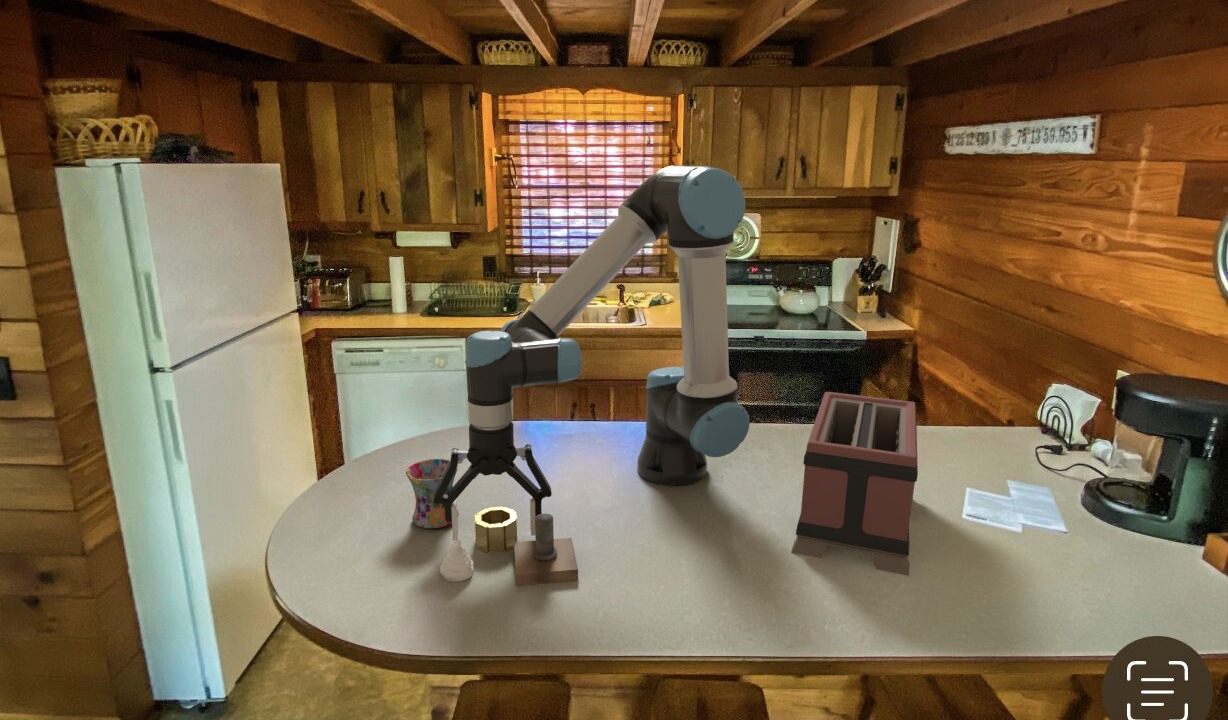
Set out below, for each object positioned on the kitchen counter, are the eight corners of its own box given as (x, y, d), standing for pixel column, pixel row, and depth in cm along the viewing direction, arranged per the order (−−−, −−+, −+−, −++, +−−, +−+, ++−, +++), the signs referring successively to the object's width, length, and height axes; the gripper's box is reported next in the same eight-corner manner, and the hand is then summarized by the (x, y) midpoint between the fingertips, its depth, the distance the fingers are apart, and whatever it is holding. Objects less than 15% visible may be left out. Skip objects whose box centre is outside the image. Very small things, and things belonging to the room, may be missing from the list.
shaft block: (571, 547, 127) (571, 501, 124) (578, 580, 117) (577, 530, 115) (514, 552, 125) (512, 505, 123) (516, 585, 116) (514, 535, 113)
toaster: (909, 489, 149) (921, 395, 144) (909, 576, 119) (924, 462, 113) (813, 474, 156) (821, 384, 150) (790, 553, 126) (799, 444, 120)
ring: (516, 530, 133) (515, 505, 131) (517, 550, 126) (516, 525, 124) (476, 533, 131) (475, 508, 130) (476, 554, 125) (474, 528, 123)
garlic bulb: (467, 551, 115) (434, 550, 115) (469, 584, 116) (436, 583, 116) (475, 533, 120) (442, 533, 120) (477, 565, 122) (445, 564, 122)
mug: (452, 534, 131) (448, 481, 128) (402, 531, 132) (398, 478, 129) (470, 503, 143) (467, 453, 140) (425, 501, 143) (421, 451, 140)
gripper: (562, 411, 128) (562, 519, 134) (417, 417, 124) (424, 528, 130) (566, 427, 121) (566, 540, 126) (412, 434, 117) (420, 550, 122)
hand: (494, 534), depth 128 cm, fingers open, 13 cm apart
